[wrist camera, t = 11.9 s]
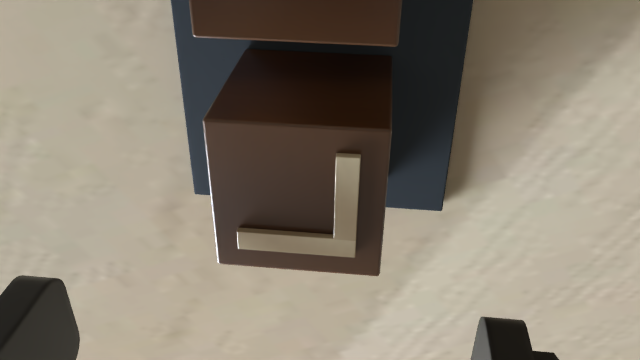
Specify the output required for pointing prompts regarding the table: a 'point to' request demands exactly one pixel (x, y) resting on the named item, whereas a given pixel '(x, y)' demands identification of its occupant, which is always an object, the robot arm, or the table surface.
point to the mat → (407, 91)
